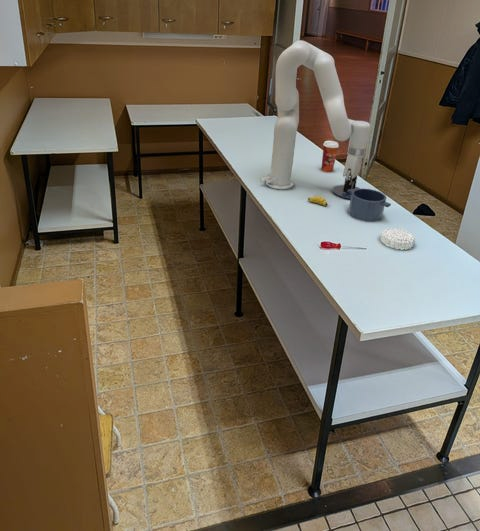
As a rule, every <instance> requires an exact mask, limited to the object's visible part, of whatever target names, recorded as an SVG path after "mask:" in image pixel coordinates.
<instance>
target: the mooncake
mask: <svg viewBox="0 0 480 531" xmlns="http://www.w3.org/2000/svg"><path fill="white" fill-rule="evenodd" d="M379 238H380V239H379V240H380V242H381V243H382V245H385V246H386V247H387V248H388V247H389V248H391V249H395V250H401V251H403V250H406V251H407V250H410V249H412V248H413V247H414V243H415V240H416V237H415V234H413V233H411V232H410V231H408V230H406V229H404V228H399V227H388V228H384V229H383V230H382V231H381V235H380V237H379Z"/></svg>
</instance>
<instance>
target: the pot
mask: <svg viewBox="0 0 480 531" xmlns="http://www.w3.org/2000/svg"><path fill="white" fill-rule="evenodd" d="M347 192H349V193H351V194H352V195H351V199H349V200H350V201H349V206H348V214H349V216H351V217H352V218H354V219H357V220H360V221H363V222H377V221H380V220H382V218H383V215H384V210H385V208H389V207H391V205H392V203H390V202H388V201H387V196H386V194H384V193H383V192H381V191H379V190H376V189H371V188H361V189H356V190H353V189H349V190H348V191H347Z"/></svg>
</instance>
